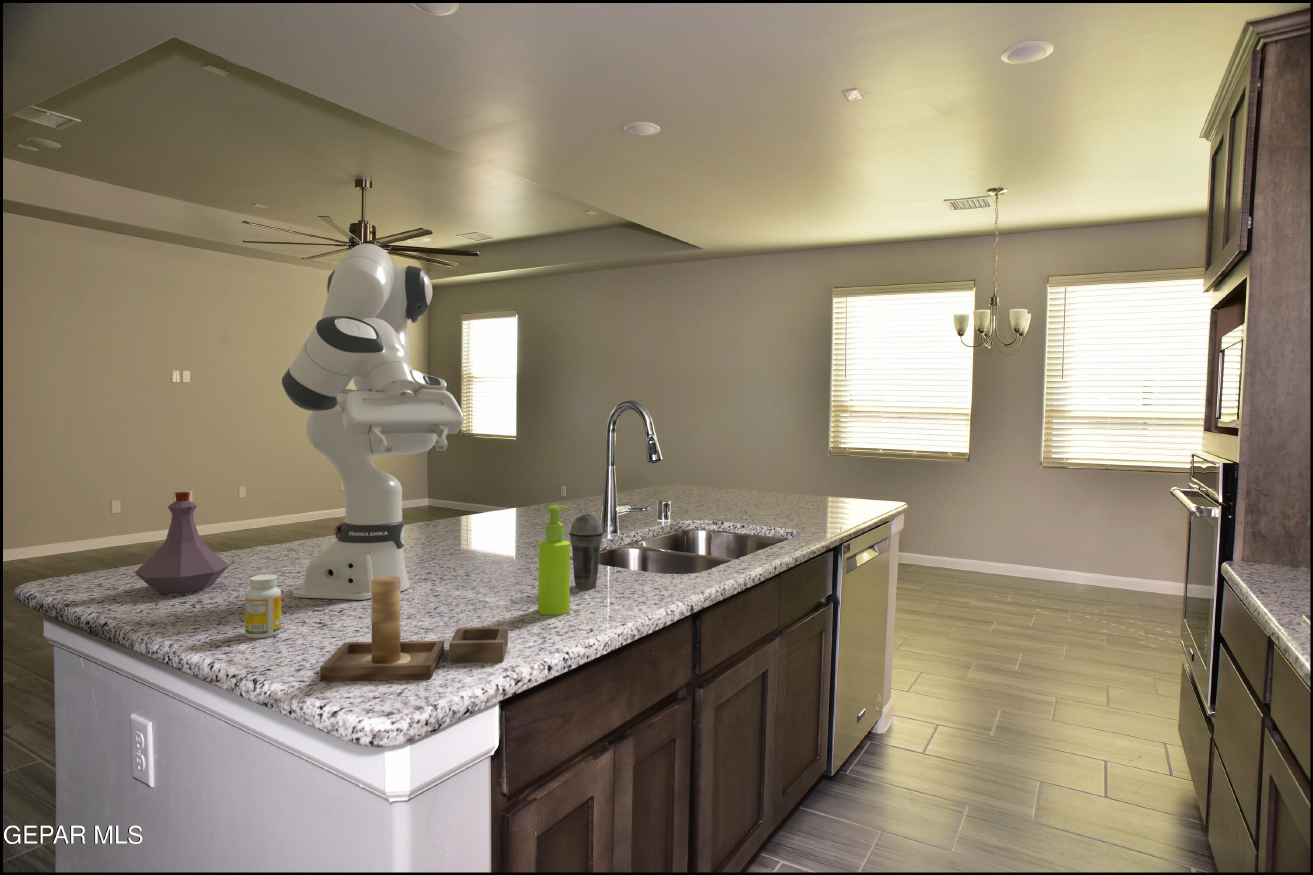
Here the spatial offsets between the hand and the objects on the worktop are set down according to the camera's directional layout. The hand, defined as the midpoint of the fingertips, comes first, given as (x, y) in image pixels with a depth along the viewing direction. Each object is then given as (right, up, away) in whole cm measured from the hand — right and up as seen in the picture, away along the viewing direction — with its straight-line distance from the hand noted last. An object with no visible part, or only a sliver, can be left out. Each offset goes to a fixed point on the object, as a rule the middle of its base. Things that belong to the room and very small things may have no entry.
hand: (416, 449), depth 125 cm
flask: (-56, -29, +27) cm, 69 cm away
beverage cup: (+25, -30, +35) cm, 53 cm away
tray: (+1, -32, -15) cm, 35 cm away
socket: (+13, -32, -9) cm, 36 cm away
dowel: (+1, -31, -15) cm, 35 cm away
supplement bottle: (-25, -31, -1) cm, 40 cm away
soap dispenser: (+21, -31, +16) cm, 41 cm away
